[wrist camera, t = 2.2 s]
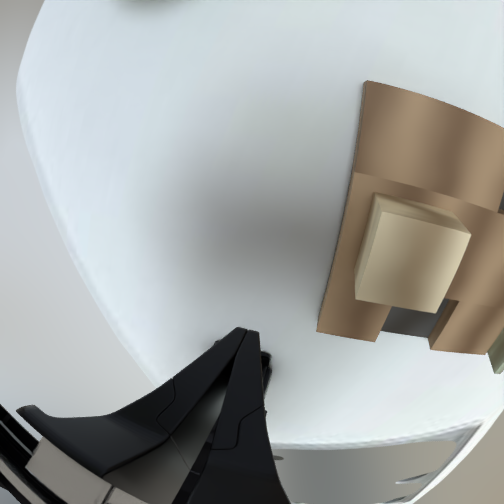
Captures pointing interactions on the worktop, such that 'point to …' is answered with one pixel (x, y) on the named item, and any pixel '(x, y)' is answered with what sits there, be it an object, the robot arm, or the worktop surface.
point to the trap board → (434, 194)
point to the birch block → (408, 254)
